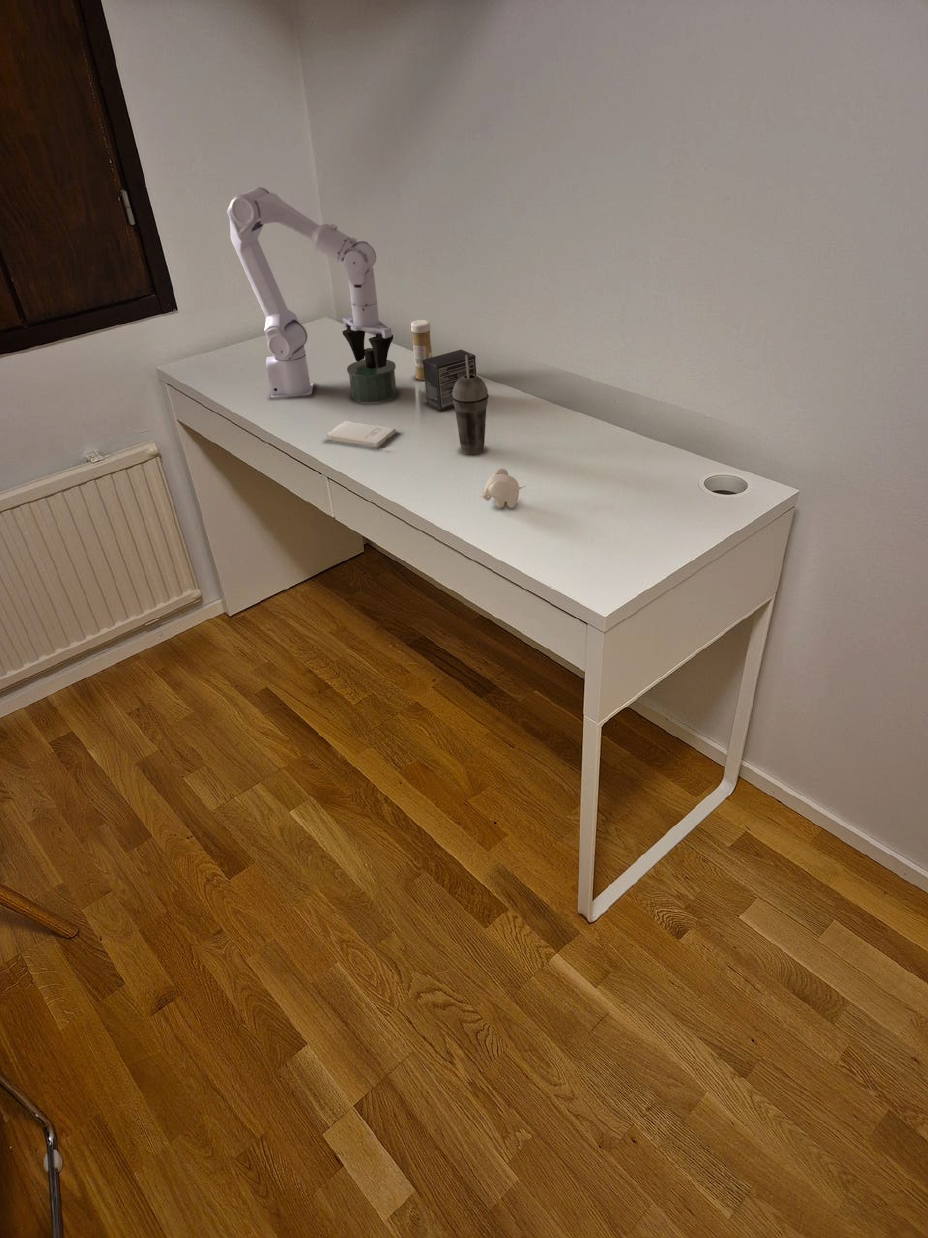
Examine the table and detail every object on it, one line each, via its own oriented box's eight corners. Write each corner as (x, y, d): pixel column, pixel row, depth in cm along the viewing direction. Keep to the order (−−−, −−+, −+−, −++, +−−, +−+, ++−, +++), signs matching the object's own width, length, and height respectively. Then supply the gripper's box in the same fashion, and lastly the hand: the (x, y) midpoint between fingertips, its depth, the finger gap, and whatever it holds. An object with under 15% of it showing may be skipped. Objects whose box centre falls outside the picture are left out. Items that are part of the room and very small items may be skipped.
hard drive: (346, 427, 188) (396, 434, 184) (326, 441, 183) (377, 449, 178) (345, 419, 188) (395, 427, 183) (325, 434, 182) (377, 442, 177)
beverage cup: (495, 444, 177) (492, 347, 166) (484, 459, 172) (480, 360, 160) (461, 441, 179) (456, 345, 168) (449, 456, 174) (443, 358, 162)
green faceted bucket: (351, 405, 198) (347, 378, 195) (353, 389, 207) (350, 362, 203) (396, 402, 199) (393, 375, 195) (396, 386, 207) (394, 359, 203)
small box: (463, 392, 202) (461, 347, 196) (479, 400, 197) (477, 354, 191) (425, 403, 197) (421, 358, 191) (440, 411, 193) (437, 365, 187)
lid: (346, 381, 195) (343, 359, 192) (348, 364, 204) (345, 343, 201) (395, 378, 195) (393, 355, 192) (395, 361, 204) (394, 340, 201)
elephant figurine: (482, 495, 159) (481, 466, 156) (526, 495, 158) (526, 466, 155) (479, 513, 154) (478, 483, 150) (524, 513, 153) (524, 483, 149)
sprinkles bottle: (437, 377, 211) (434, 321, 203) (423, 382, 209) (419, 326, 201) (425, 373, 214) (421, 317, 206) (411, 378, 211) (406, 322, 204)
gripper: (329, 301, 192) (337, 361, 200) (371, 312, 184) (378, 374, 192) (353, 294, 196) (360, 353, 204) (396, 304, 188) (401, 366, 196)
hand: (370, 363), depth 198 cm, fingers open, 7 cm apart
